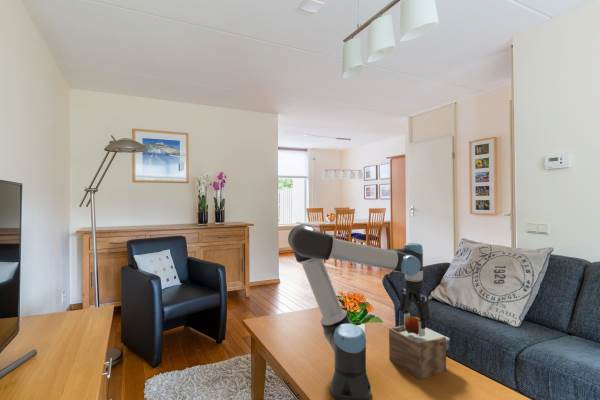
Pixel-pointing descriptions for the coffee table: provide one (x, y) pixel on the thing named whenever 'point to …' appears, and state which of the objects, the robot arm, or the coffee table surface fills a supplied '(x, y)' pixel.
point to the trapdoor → (428, 336)
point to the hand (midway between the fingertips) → (414, 331)
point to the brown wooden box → (417, 354)
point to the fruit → (412, 324)
